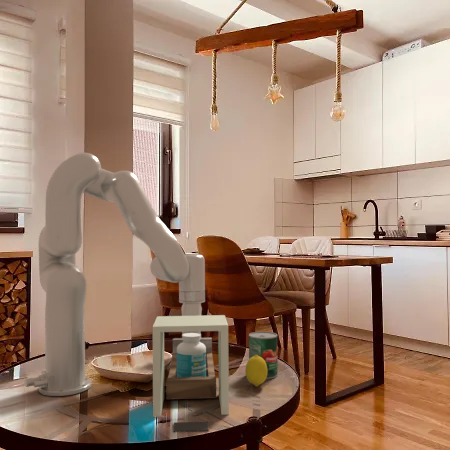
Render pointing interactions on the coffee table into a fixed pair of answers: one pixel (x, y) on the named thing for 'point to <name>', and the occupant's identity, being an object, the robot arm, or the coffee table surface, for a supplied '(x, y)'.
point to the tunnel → (188, 325)
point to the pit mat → (190, 426)
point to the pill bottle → (191, 356)
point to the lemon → (256, 370)
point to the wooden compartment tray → (191, 385)
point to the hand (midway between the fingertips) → (192, 359)
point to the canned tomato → (265, 350)
